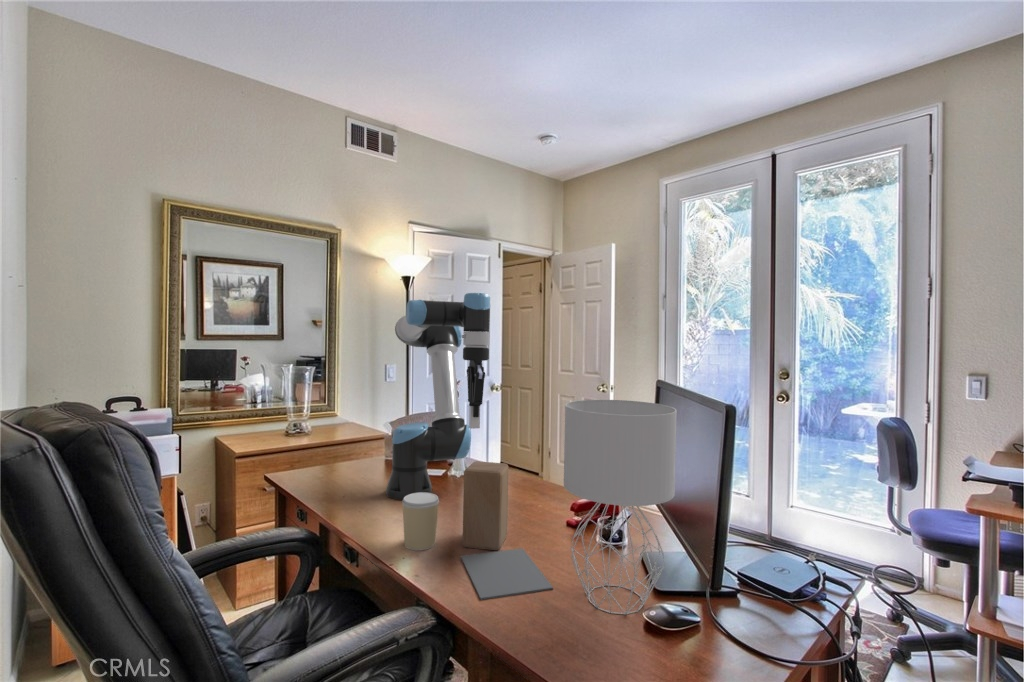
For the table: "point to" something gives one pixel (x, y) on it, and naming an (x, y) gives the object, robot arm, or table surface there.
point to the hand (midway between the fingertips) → (474, 427)
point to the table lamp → (619, 469)
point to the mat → (504, 573)
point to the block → (485, 505)
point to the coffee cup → (420, 520)
